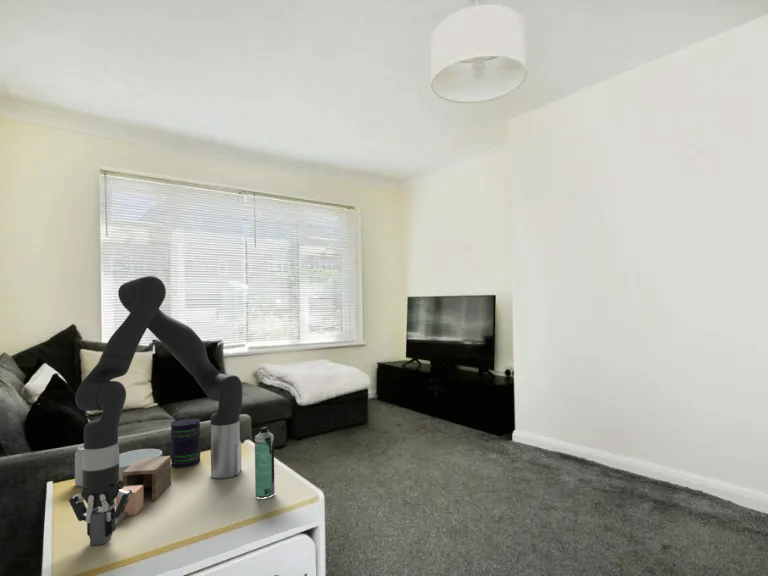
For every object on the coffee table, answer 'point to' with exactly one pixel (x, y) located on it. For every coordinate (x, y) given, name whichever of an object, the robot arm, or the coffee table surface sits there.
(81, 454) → the can
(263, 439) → the spray can
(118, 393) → the robot arm
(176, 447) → the storage jar
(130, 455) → the cereal bowl
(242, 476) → the coffee table surface
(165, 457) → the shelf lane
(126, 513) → the block with cord
